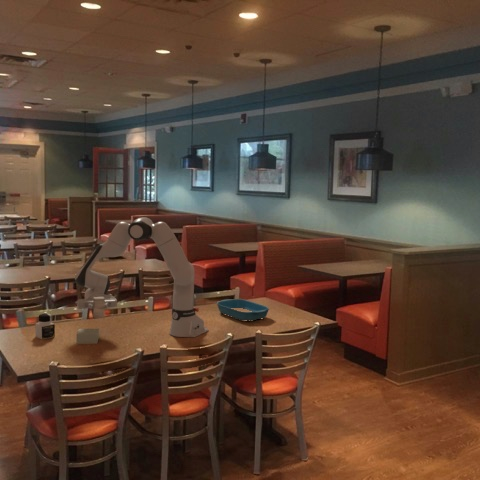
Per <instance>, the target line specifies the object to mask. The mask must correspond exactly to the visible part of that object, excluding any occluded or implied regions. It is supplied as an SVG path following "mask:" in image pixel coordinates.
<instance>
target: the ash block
mask: <svg viewBox="0 0 480 480" xmlns="http://www.w3.org/2000/svg"><path fill="white" fill-rule="evenodd" d="M93 305H94V309H92V317H93V319H95V320H96V319H98V320H99V319H105V313H106V312H105V311H106V308H105V299H104V297H93Z"/></svg>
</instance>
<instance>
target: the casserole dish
mask: <svg viewBox="0 0 480 480" xmlns="http://www.w3.org/2000/svg"><path fill="white" fill-rule="evenodd" d="M216 305H217V307H218V311H219V312H220V314H222V313H223V314H222V315H224V314H226V315H225V316H227V315H229V316H232V317H234V318H233V319H235V318H237V319H236V320H238V319H240V320H239V321H241V320H247V321H249V320H256V319H261V318H264V319H265V318H266V317H267V316H268V313H269V310H270V308H269V307H268V306H266V305H263V304H261V303H258V302H254V301H250V300H247V299H243V298H233V299H231V298H230V299H229V298H228V299H222V300H220V301H217V302H216ZM231 308H243V309H247V310H249V311H252V312H241V311H237V310H234V309H231ZM229 316H228V317H229ZM232 317H231V318H232ZM261 320H262V319H261ZM256 321H257V320H256Z"/></svg>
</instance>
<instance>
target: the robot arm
mask: <svg viewBox="0 0 480 480" xmlns="http://www.w3.org/2000/svg"><path fill="white" fill-rule="evenodd" d="M149 239H151V240H152V241H154V243H155V245H156V247H157V249H158V250H159V252H160V254H161V256H162V258H163V260H164V261H165V265H166V266H167V268H168V271H169V272H170V275H171V277H172V278H173V290H172V291H173V292H172V293H173V294H172V309H171V314H172V315H171V323H170V328H169V335H170V336H173V337H177V338H196V337H199V336H201V335H202V334H205V333H207V332H209V328H208V327H206V326H205V322H204V320H203V318H201V317H200V316H198V315H197V313H196V312H198V313H199V311H200V308H199V307H194V295H195V294H194V293H195V292H194V290H195V267H194V265H193V263H191V262H190V261H189V260H188V258H187V256H186V254H185V252H184V249H183V248H182V245H181V244H180V242H179V240H178V238H177V236H176V235H175V233H174V232H173V230H172V228H171V227H170V226H169V225H168V223H166V222H164V221H158V222H155V220H153V219H152V218H151V217H149V216H140V217H137V218H136V219H134V220H133V221H132V222H129V223H128V222H126V221H119V222H118V223H117V224H116V225H115V226H114V227H113V228H112V230H111V232H110V233H109V236H108V238H107V240H105V241H104V242H103V243H99V244H98V245H97V246H96V247H95V248H94V250H93V251H92V252H91V253H90V255H89V256H88V258H86V260H85V262H84V263H83V265H81V267H80V268H79V270H78V271H77V272H76V274H75V276H74V280H75V283H76V284H77V286H78V287H84V288H87V289H86V290H85V292H84V298H79V299H77V300H76V301H75V305H77V306H76V307H77V309H79V310H81V309H82V310H83V309H84V310H85V309H90V310H93V309H94V305H93V297H104V299H105V309H108V308H116V307H118V300H117V298H116V297H115V296H113V294H111V293H108V292H109V289H110V286H111V279H110V277H109V276H108V275H107V274H104V273H101V272H97V271H95V270H92V268H93V267H94V265H95V264H96V263H97V261H98V260H99V259H102V258H116V257H119V256H122V255H124V254H125V252H126V250H127V248H128V247H129V244H130V242H131V241H132V240H135V241H143V240H149Z"/></svg>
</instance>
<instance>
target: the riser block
mask: <svg viewBox="0 0 480 480" xmlns="http://www.w3.org/2000/svg"><path fill="white" fill-rule="evenodd" d="M99 338H100V328H79V329H78V330H77V332H76V345H80V344H81V345H82V344H83V345H84V344H87V345H88V344H92V345H93V344H98V341H99V340H100V339H99Z"/></svg>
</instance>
